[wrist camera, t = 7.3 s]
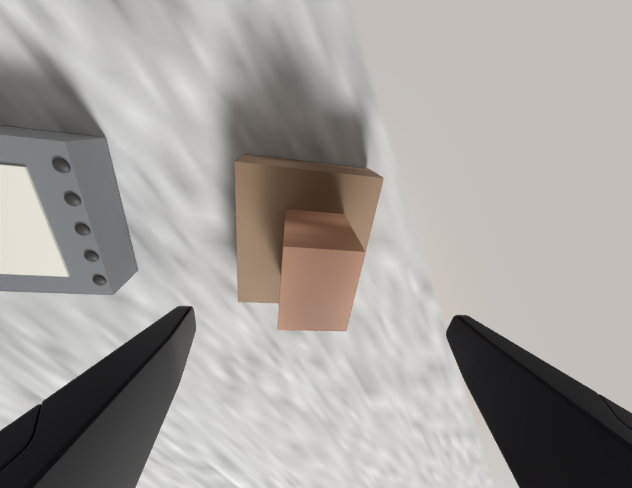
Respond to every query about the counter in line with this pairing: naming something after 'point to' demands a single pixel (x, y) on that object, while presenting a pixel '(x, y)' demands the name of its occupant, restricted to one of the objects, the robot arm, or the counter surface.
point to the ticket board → (60, 215)
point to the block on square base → (303, 237)
